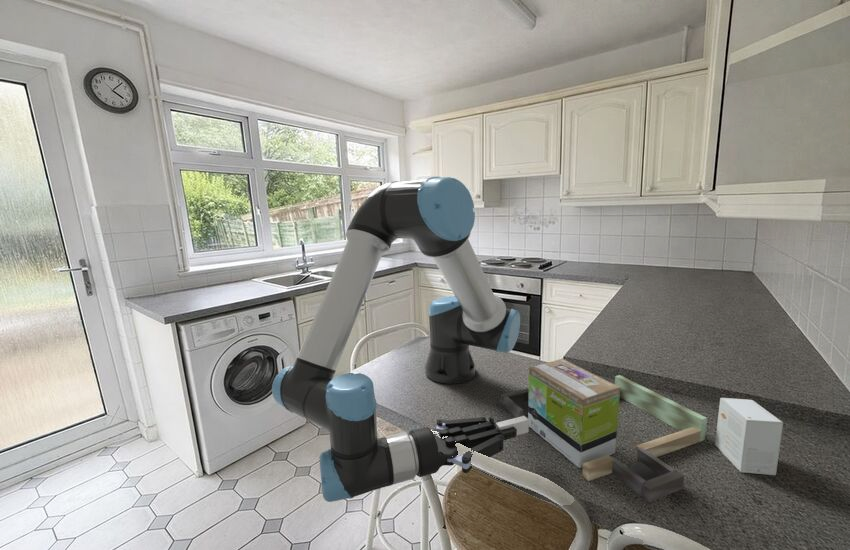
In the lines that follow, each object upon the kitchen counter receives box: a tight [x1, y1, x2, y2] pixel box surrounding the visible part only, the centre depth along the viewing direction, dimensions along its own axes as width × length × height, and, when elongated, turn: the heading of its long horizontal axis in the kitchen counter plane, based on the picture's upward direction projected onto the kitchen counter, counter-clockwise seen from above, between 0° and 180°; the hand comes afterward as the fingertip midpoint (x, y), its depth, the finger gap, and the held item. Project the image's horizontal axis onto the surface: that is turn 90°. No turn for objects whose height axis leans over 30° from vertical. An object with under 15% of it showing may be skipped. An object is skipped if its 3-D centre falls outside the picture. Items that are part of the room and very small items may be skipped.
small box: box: [714, 397, 784, 476], centre depth 66 cm, size 8×6×10 cm
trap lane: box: [500, 374, 708, 503], centre depth 77 cm, size 36×31×5 cm
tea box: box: [527, 358, 620, 469], centre depth 73 cm, size 15×10×15 cm, turn 24°
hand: (526, 423), depth 69 cm, fingers closed
